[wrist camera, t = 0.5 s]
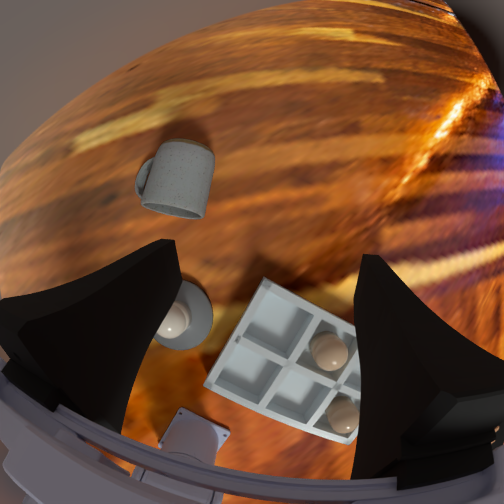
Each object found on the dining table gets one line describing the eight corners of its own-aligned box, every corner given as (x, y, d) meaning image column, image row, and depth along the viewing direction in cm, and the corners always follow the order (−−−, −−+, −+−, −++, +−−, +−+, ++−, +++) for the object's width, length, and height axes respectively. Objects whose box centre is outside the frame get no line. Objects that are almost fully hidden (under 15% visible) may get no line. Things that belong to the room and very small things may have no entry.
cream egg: (183, 337, 34) (172, 349, 29) (156, 320, 34) (141, 330, 29) (197, 310, 34) (187, 319, 29) (169, 293, 34) (155, 299, 29)
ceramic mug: (221, 160, 35) (212, 136, 28) (209, 222, 35) (195, 212, 27) (147, 153, 36) (124, 131, 28) (134, 211, 35) (105, 200, 28)
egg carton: (342, 432, 34) (349, 445, 31) (207, 375, 35) (202, 385, 31) (399, 349, 34) (411, 356, 31) (263, 276, 35) (264, 278, 31)
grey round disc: (193, 359, 35) (192, 362, 34) (136, 324, 35) (133, 326, 34) (226, 301, 35) (225, 303, 34) (164, 266, 35) (162, 266, 34)
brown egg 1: (329, 365, 33) (340, 381, 28) (303, 353, 34) (311, 367, 28) (345, 338, 33) (359, 351, 28) (319, 325, 34) (330, 336, 28)
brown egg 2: (341, 422, 33) (352, 442, 28) (319, 414, 33) (327, 434, 28) (357, 400, 33) (370, 418, 28) (335, 391, 33) (346, 409, 28)
